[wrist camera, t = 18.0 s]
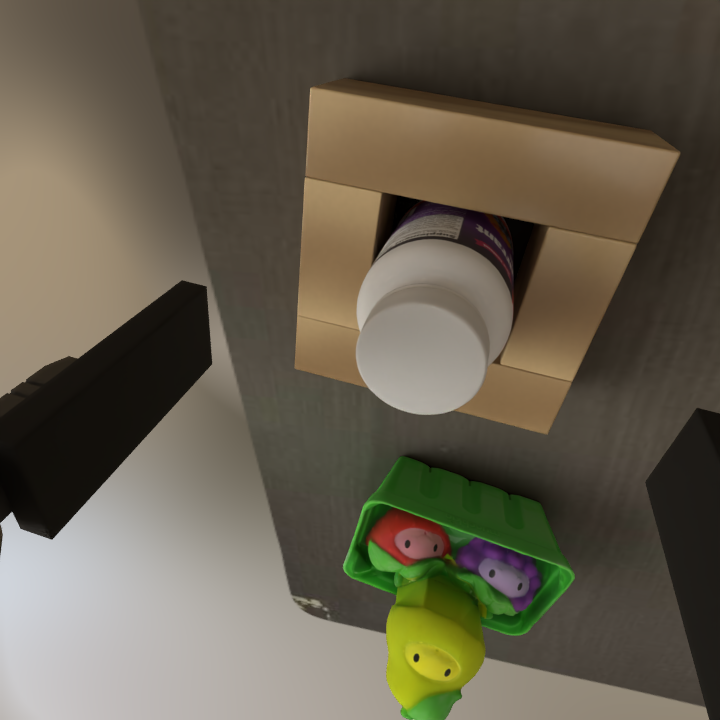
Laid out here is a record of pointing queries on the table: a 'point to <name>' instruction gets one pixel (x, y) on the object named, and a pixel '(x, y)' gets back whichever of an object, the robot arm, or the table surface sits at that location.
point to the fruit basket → (451, 576)
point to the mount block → (483, 194)
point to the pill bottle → (436, 308)
